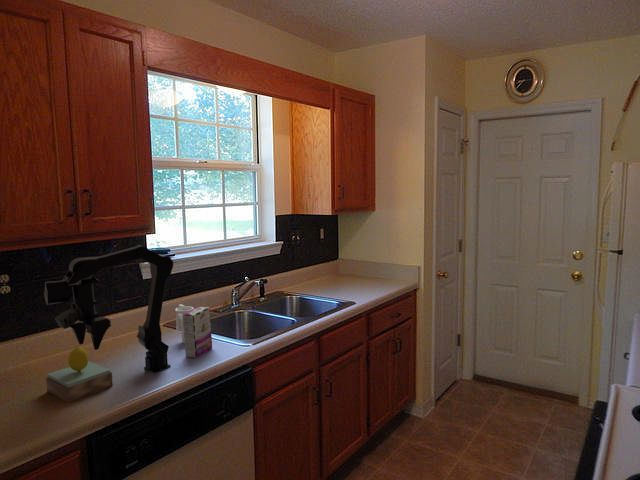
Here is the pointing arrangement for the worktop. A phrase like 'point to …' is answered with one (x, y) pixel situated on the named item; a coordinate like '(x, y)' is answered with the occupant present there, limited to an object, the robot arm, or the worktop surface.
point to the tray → (78, 388)
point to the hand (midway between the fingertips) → (88, 346)
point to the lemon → (78, 359)
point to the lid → (78, 374)
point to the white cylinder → (181, 318)
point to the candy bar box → (197, 332)
